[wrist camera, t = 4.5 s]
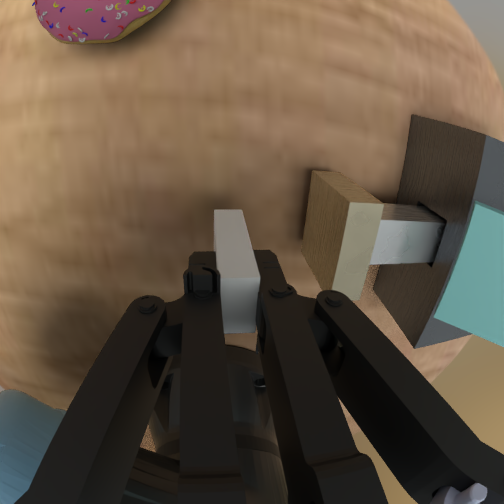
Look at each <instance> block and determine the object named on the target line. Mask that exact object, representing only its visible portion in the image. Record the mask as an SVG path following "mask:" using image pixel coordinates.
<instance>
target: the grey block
mask: <svg viewBox="0 0 504 504" xmlns="http://www.w3.org/2000/svg"><path fill="white" fill-rule="evenodd" d="M475 201H478V202H481V203H483V204H486V205H488V206H490V207H493V208H495V209H498V210H500V211H502V212H504V142H502V141H499V140H497V139H495V138H492V137H490V136H487V135H484V134H481V133H478V132H475V131H472V130H469V129H466V128H462V127H459V126H455V125H452V124H448V123H445V122H441V121H437V120H433V119H429V118H425V117H421V116H416V115H412V117H411V125H410V132H409V138H408V145H407V151H406V157H405V162H404V168H403V173H402V178H401V183H400V188H399V193H398V197H397V202H396V204H402V205H414V206H426V207H428V208H430V209H431V210H433V211H434V212H435V213H437V214H438V215H440V216H441V217H443V218H444V219H445V220H447V223H446V227H445V230H444V233H443V237H442V240H441V243H440V246H439V249H438V252H437V255H436V258H435V261H434V262H424V263H400V264H380V268H379V271H378V274H377V278H376V281H375V284H374V287H373V290H374V292H375V293H376V294H377V296H378V297H379V299H380V300H381V301H382V303H383V304H384V306H385V307H386V308H387V310H388V311H389V313H390V314H391V316H392V317H393V318H394V320H395V321H396V323H397V324H398V326H399V327H400V329H401V330H402V331H403V333H404V334H405V336H406V337H407V339H408V340H409V342H410V343H411V345H412V346H413V348H414V349H416V348H420V347H425V346H429V345H433V344H437V343H441V342H445V341H449V340H453V339H456V338H460V337H464V336H467V335H471V334H472V333H470V332H467V331H465V330H463V329H460V328H458V327H455V326H453V325H451V324H448V323H446V322H443V321H441V320H439V319H436V318H434V314H435V310H436V308H437V305H438V303H439V301H440V299H441V296H442V294H443V292H444V289H445V287H446V284H447V282H448V279H449V277H450V274H451V272H452V269H453V267H454V264H455V261H456V258H457V256H458V253H459V250H460V247H461V244H462V241H463V238H464V235H465V232H466V229H467V226H468V223H469V219H470V216H471V212H472V209H473V205H474V202H475Z"/></svg>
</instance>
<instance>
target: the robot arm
mask: <svg viewBox="0 0 504 504" xmlns="http://www.w3.org/2000/svg"><path fill="white" fill-rule="evenodd" d="M183 279H184V292H185V294H184V295H183V296H182V297H181V298H179V299H178V300H175V301H172V302H168V303H165V302H164V300H162V299H161V298H160V297H157V296H151V295H147V296H142V297H139V298H137V299H135V300H134V301H133V302H132V303H131V304H130V306H129V307H128V309H127V310H126V312H125V313H124V315H123V317H122V318H121V320H120V321H119V323H118V325H117V326H116V328H115V329H114V331H113V333H112V334H111V336H110V337H109V339H108V341H107V342H106V344H105V346H104V347H103V349H102V350H101V352H100V354H99V355H98V357H97V359H96V360H95V362H94V364H93V366H92V367H91V369H90V371H89V372H88V374H87V376H86V378H85V379H84V381H83V383H82V385H81V386H80V388H79V390H78V392H77V393H76V395H75V397H74V399H73V401H72V402H71V404H70V406H69V408H68V410H67V411H64V410H61V409H54V408H52V407H50V406H48V405H46V404H44V403H42V402H40V401H39V400H37V399H35V398H33V397H31V396H29V395H28V394H26V393H24V392H21V391H18V390H12V389H10V390H4V391H2V392H0V504H388V501H387V499H386V496H385V493H384V490H383V487H382V485H381V482H380V480H379V477H378V474H377V471H376V469H375V466H374V464H373V462H372V460H371V458H370V457H369V456H367V455H366V454H363V453H360V452H359V451H358V450H357V448H356V445H355V442H354V440H353V437H352V434H351V432H350V429H349V426H348V423H347V421H346V418H345V415H344V413H343V410H342V407H341V405H340V402H339V399H340V400H341V402H342V403H343V405H344V406H345V407H346V409H347V410H348V412H349V413H350V414H351V416H352V417H353V419H354V420H355V421H356V423H357V424H358V426H359V427H360V428H361V430H362V431H363V433H364V434H365V435H366V437H367V438H368V440H369V441H370V442H371V444H372V445H373V447H374V448H375V449H376V451H377V452H378V454H379V455H380V456H381V458H382V459H383V460H384V462H385V463H386V465H387V466H388V468H389V469H390V470H391V472H392V473H393V474H394V476H395V477H396V479H397V480H398V481H399V483H400V484H401V485H402V487H403V488H404V489H405V490H406V491H407V493H408V494H409V495H410V496H411V497H412V498H413V499H414V500H415V501H416V502H417V503H418V504H504V455H503V454H502V453H500V452H498V451H497V450H495V449H493V448H491V447H490V446H488V445H486V444H485V443H483V442H481V441H480V440H479V439H478V437H477V436H476V435H475V434H474V433H473V432H472V430H471V429H470V428H469V427H468V426H467V425H466V424H465V422H464V421H463V420H462V419H461V418H460V417H459V415H458V414H457V413H456V412H455V411H454V410H453V409H452V408H451V406H450V405H449V404H448V403H447V402H446V401H445V400H444V399H443V397H441V395H440V394H439V393H438V392H437V391H436V390H435V389H434V387H433V386H432V385H431V384H430V383H429V382H428V381H427V380H426V379H425V378H424V376H423V375H422V374H421V373H420V372H419V371H418V370H417V369H416V368H415V367H414V366H413V365H412V363H411V362H410V361H409V360H408V359H407V358H406V357H405V356H404V355H403V354H402V353H401V352H400V351H399V350H398V348H397V347H396V346H395V345H394V344H393V343H392V342H391V341H390V340H389V339H388V338H387V337H386V336H385V335H384V334H383V333H382V332H381V331H380V330H379V328H378V327H377V326H376V325H375V324H374V323H373V322H372V321H371V320H370V319H369V318H368V317H367V316H366V315H365V314H364V313H363V312H362V311H361V310H360V309H359V308H358V307H357V306H356V305H355V304H354V303H353V302H352V301H351V300H350V299H349V298H348V297H347V296H346V295H345V294H343V293H341V292H339V291H335V290H324V291H322V292H320V293H319V294H318V295H317V298H316V299H315V298H308V297H304V296H300V295H298V294H297V292H296V290H295V289H294V288H293V287H292V286H291V285H289V284H287V282H286V280H285V277H284V274H283V272H282V269H281V268H280V264H279V262H278V259H277V257H276V255H275V254H274V253H273V252H271V251H270V250H253V249H252V245H251V241H250V238H249V234H248V230H247V227H246V223H245V219H244V216H243V212H242V210H214V251H206V252H193V254H192V255H191V256H190V257H189V267H188V269H187V270H186V271H185V272H184V275H183ZM256 326H257V330H258V335H257V344H256V353H255V352H252V351H249V350H246V349H243V348H238V347H233V346H225V338H224V334H230V333H254V332H255V330H256ZM258 352H259V354H258ZM337 396H338V397H339V399H338V397H337ZM147 425H149V428H150V432H151V435H152V438H153V441H154V444H155V452H152V451H149V450H147V449H144V448H141V447H140V444H141V442H142V439H143V436H144V433H145V431H146V428H147Z"/></svg>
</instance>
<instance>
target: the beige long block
mask: <svg viewBox="0 0 504 504" xmlns="http://www.w3.org/2000/svg"><path fill="white" fill-rule="evenodd" d="M446 223H447V220H445V219H444V218H443V217H441V216H440V215H438V214H437V213H435V212H434V211H433V210H431V209H430V208H428V207H426V206H414V205H402V204H388V203H382V202H381V201H379V200H378V199H377V198H375V197H374V196H372V195H371V194H370V193H368V192H367V191H366V190H364V189H363V188H361V187H360V186H359V185H357V184H356V183H354V182H353V181H352V180H350V179H349V178H347V177H346V176H344V175H343V174H341V173H340V172H328V171H314V170H312V176H311V184H310V192H309V199H308V207H307V214H306V221H305V228H304V235H303V242H302V249H301V252H302V254H303V256H304V257H305V259H306V261H307V263H308V265H309V267H310V268H311V270H312V272H313V274H314V276H315V278H316V280H317V281H318V283H319V285H320V287H321V289H322V291H324V290H335V291H339V292H341V293H343V294H345V295H346V296H347V297H348V298H349V299H350V300H351V301H352V300H359V299H360V295H361V292H362V289H363V285H364V282H365V279H366V275H367V271H368V268H369V265H373V264H400V263H424V262H434V261H435V258H436V255H437V252H438V249H439V246H440V243H441V240H442V237H443V233H444V230H445V227H446Z"/></svg>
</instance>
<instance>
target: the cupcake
mask: <svg viewBox="0 0 504 504" xmlns="http://www.w3.org/2000/svg"><path fill="white" fill-rule="evenodd" d="M170 1H171V0H35V2H34V3H33V5H34V4H35V9H36V13H37V17H38V19H39V21H40V23H41V24H42V26H43V27H44V28H45V29H46V30H47V31H48V32H49V33H50V35H51V36H52V37H53V38H55V39H56V40H57V41H59V42H62V43H66V44H94V43H110V42H116V41H118V40H120V39H122V38H124V37H125V36H127V35H128V34H129V33H131V32H132V31H134V30H136V29H137V28H139V27H140V26H142V25H143V24H145V23H146V22H147V21H149V20H150V19H151V18H153V17H154V16H155V15H157V14H158V13H159V12H160V11H161V10H163V9H164V8H165V7H166V6H167V5H168V4H169V2H170ZM33 5H32V6H33Z"/></svg>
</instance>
